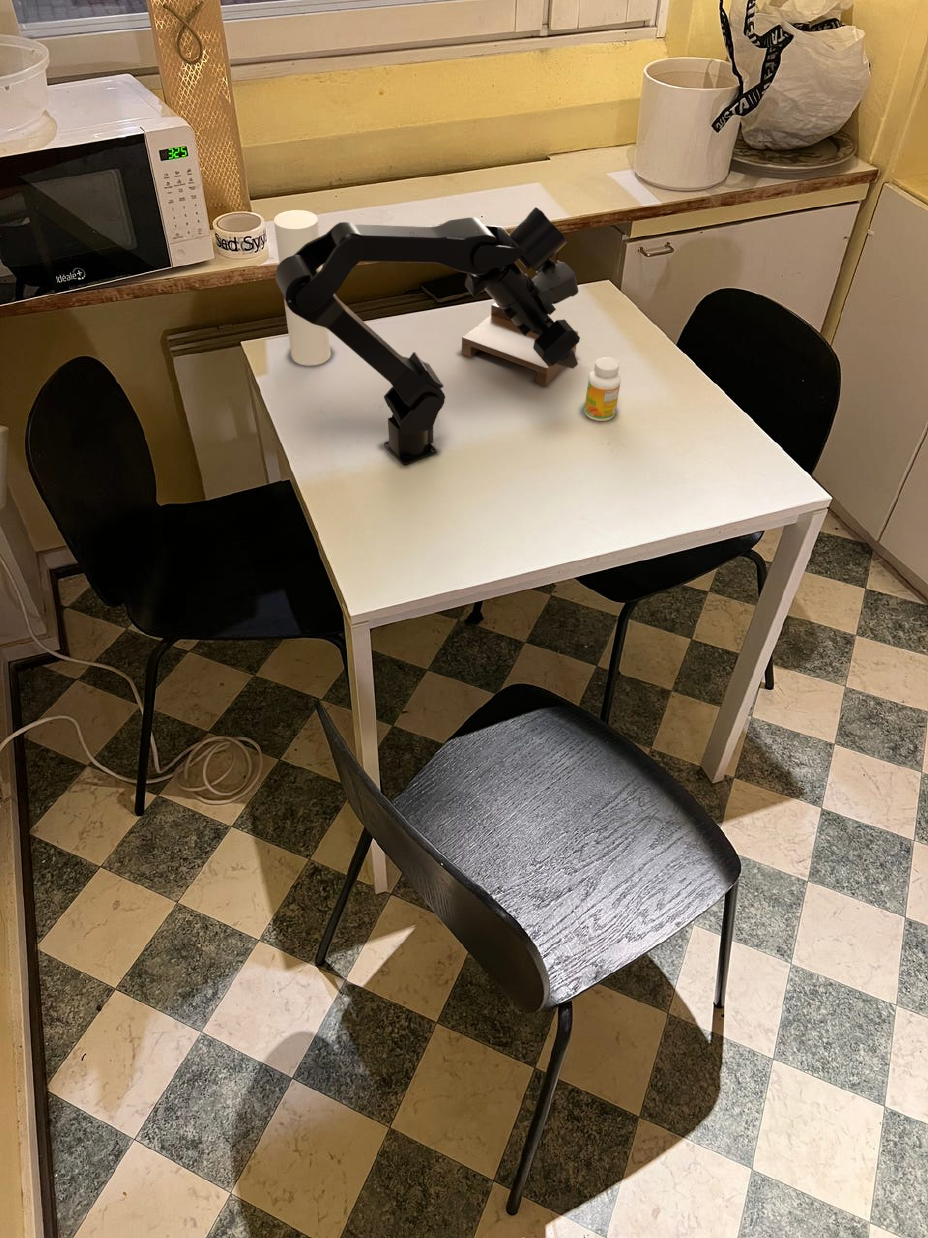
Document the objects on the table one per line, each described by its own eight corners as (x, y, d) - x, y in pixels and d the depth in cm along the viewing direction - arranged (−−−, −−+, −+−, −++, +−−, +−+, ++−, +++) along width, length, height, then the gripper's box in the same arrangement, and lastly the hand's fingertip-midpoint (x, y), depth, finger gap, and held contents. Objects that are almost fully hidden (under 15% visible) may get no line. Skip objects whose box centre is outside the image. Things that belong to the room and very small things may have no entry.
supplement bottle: (578, 407, 158) (584, 358, 151) (604, 401, 160) (612, 351, 153) (593, 424, 155) (601, 374, 148) (620, 417, 157) (629, 367, 150)
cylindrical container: (334, 346, 170) (321, 211, 152) (326, 366, 165) (312, 230, 147) (296, 343, 170) (279, 208, 152) (287, 363, 166) (269, 227, 147)
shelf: (545, 385, 163) (548, 358, 159) (461, 354, 169) (462, 327, 165) (574, 358, 169) (578, 331, 165) (492, 329, 176) (494, 302, 171)
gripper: (581, 279, 127) (629, 345, 139) (526, 223, 139) (575, 288, 150) (521, 335, 130) (573, 395, 142) (472, 275, 142) (524, 335, 153)
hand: (562, 351), depth 147 cm, fingers open, 9 cm apart
